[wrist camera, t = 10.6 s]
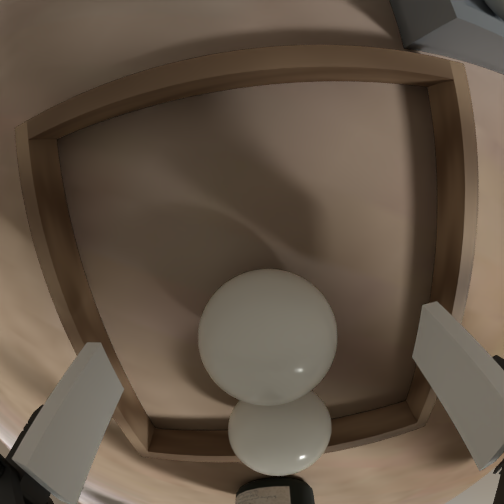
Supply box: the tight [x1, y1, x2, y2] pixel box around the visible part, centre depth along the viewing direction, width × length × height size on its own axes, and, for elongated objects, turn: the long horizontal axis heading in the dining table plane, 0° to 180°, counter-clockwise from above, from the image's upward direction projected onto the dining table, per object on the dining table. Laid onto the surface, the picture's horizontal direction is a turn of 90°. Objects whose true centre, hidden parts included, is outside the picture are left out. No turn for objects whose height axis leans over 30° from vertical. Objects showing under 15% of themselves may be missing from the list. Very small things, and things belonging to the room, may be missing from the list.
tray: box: [15, 45, 478, 462], centre depth 14 cm, size 24×22×2 cm
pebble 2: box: [228, 391, 331, 476], centre depth 14 cm, size 6×6×6 cm
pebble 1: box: [198, 269, 338, 406], centre depth 12 cm, size 6×6×6 cm
